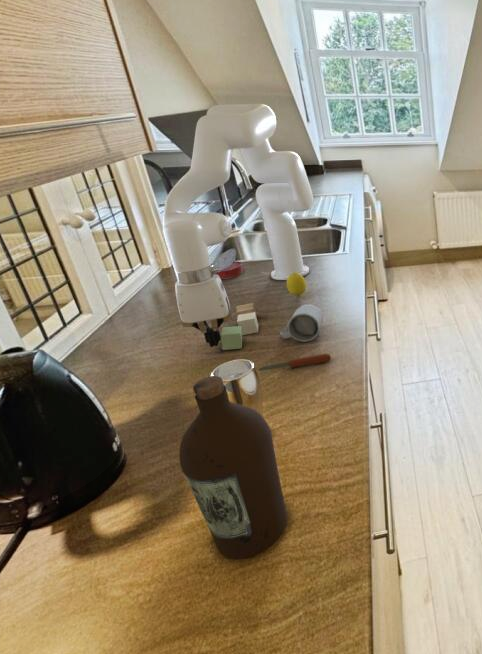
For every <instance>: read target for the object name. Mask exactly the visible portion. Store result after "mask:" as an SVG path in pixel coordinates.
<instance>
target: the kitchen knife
mask: <svg viewBox="0 0 482 654" xmlns="http://www.w3.org/2000/svg"><path fill="white" fill-rule="evenodd" d="M331 359H332V356H331V354H330V353H328V352H327V353H325V352H324V353H320V354H319V353H318V354H314V355H309V356H303V357H298V358H291V359H289V360H287V361H283V362H278V363H274V364H269V365H264V366H261V367H259V368H258V370H257V371H258V372H261V371H268V370H277V369H282V368H288V367H289V368H291V369H294V368H297V367H302V366H308V365H309V366H310V365H317V364H325V363H328V362H330V361H331Z"/></svg>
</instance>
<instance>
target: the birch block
mask: <svg viewBox="0 0 482 654" xmlns="http://www.w3.org/2000/svg"><path fill="white" fill-rule="evenodd" d="M235 312H236V315H237V317H238V315H241V314H247V313H252V312H255V313H256V309H255V305H254V302H251V303H245V304H241V305H236V311H235ZM256 314H257V313H256Z"/></svg>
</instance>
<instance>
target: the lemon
mask: <svg viewBox="0 0 482 654" xmlns="http://www.w3.org/2000/svg"><path fill="white" fill-rule="evenodd" d="M304 277H305V276H302V275H300V274H298V273H295V272H294V273H293V274H291V275H290V276H289V277H288V278H287V280H286V289H287V291H288V292H289V293H290V295H292V296H295V297H298V298H299V297H301V295H303V294H305V292H306V290H307V282H306V279H305V278H304Z"/></svg>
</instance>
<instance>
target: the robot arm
mask: <svg viewBox="0 0 482 654" xmlns="http://www.w3.org/2000/svg"><path fill="white" fill-rule="evenodd" d="M276 129H277V118H276V115H275V112H274V111H273V110H272V108H271V107H270V106H268V105H267V104H264V103H243V104H242V103H238V104H236V103H234V104H217V105H213V106H211V107H209V108H208V109H207V111H206V114H205V115H203V116H201V117H199V118H198V120H197V122H196V125H195V132H194V140H193V148H192V154H191V155H192V157H191V163H190V168H189V170H188V171H187V172H186V173H185V174H184V175H183V176H182V177H181V178H180V179H179V180H178V181H177V182H176V183H175V185H174V186H173V187H172V188H171V189H170V190H169V193H168V194H167V196H166V199H165V202H164V208H163V214H162V234H163V237H164V240H165V244H166V247H167V251H168V254H169V257H170V261H171V264H172V267H173V270H174V274H175V278H176V280H177V281H175V283H174V288H175V290H174V291H175V299H176V305H177V308H178V309H177V310H178V314H179V317H180V320H181V321H182V327H183V328H195V329H196V330H198V331H200V332H201V333H202V334H203V335H204V338H205V342H206V343H207V344H209V347H210V348H213V347H218V346H219V342H220V341H221V342H222V338H221V333H220V329H219V328H220V327H221V326H222V324H223V323H226V322H228V321H231V320H232V319H233V317H234V315H233V313H232V311H231V304H230V300H229V296H228V294H227V291H226V289H225V286H224V284H223V281H222V279H220V277H219V275H217V274H215V273H217V272H220V267H219V266H217V267H216V266H214V265H213V264H212V263H213V262H212V261H211V257H210V253H209V249H208V248H209V247H212V246H215V245H220V244H222V243H225V242H226V241H227V240H228V239H229V238H230V236H231V234H232V223H231V220H230V219H229V218H228V217H227V216H226V215H224V214H222V213H221V212H215V211H214V212H213V211H211V212H210V211H209V212H206V211H205V212H189V210H190V209H191V207H192V204H194V202H195V201H196V200H197V199H199V198H200V197H201V196H203V195H204V194H206V193H208V192H210V191H212V190H214V189H216V188H219V187H220V186H223V185H224V184H226V183H227V182H228V181H229V180H230V177H231V168H232V159H233V152H234V150H236V149H237V150H239V151H240V153H241V156H242V158H243V161H244V162H245V164H246V167H247V169H248V172H249V174H250V176H251V178H252V179H253V180H254V181H255V182H256V183H257V184H258V183H259V184H261V185H258V187H257V189H256V190H255V201H256V204H257V206H258V208H259V210H260V213H261V216H262V218H263V222H264V226H265V232H266V234H267V240H268V245H269V248H270V249H269V250H270V254H271V258H272V263H273V269H274V270H272V271H271V272H270V277H271V279H273V280H275V281H276V280H277V281H287V278H288V277H289V276H290V275H291V274H293V273H294V272H295V273H298V274H300V275H302V276H303V277H305V276H306V275H308V274H309V273H310V268H309V266H307V265H305V264H304V261H303V255H302V249H301V244H300V239H299V233H298V228H297V223H296V222H295V219H294V218H293V217H292V215H290V213H293V212H307V211H309V210H311V209H312V207H313V206H314V194H313V191H312V187H311V183H310V180H309V177H308V175H307V171H306V169H305V168H306V167H305V166H304V163H303V161H302V159H301V157H300V156H299V155H298V153H296V152H294V151H289V150H277V151H276V150H274V149H273V148H272V145H271V144H270V141H269V139H270V138H271V137H272V136H273V135H274V133H275V131H276ZM214 274H215V275H214ZM207 321H210V323H211V326H210V325H209V323H208V322H207Z"/></svg>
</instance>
